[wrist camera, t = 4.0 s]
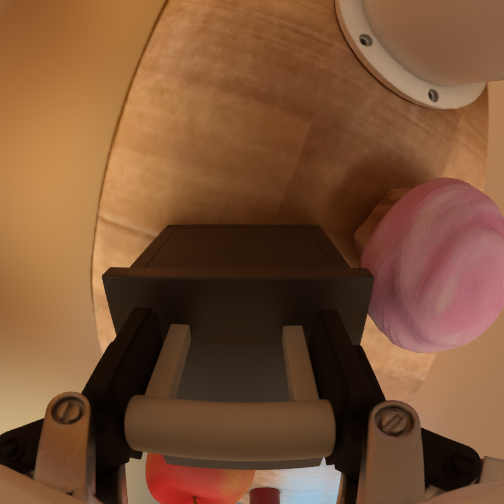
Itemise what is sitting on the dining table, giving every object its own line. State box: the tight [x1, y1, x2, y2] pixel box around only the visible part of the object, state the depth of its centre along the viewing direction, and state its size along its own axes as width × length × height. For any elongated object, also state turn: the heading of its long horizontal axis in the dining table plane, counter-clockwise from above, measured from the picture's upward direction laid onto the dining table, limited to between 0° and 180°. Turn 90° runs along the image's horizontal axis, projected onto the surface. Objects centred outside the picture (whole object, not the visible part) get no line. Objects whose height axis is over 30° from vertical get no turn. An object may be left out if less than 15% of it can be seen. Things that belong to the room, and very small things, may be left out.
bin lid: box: [102, 267, 374, 470], centre depth 10 cm, size 13×10×6 cm
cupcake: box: [353, 178, 504, 353], centre depth 14 cm, size 9×9×10 cm
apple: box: [146, 453, 255, 504], centre depth 21 cm, size 10×10×10 cm
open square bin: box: [130, 225, 350, 269], centre depth 17 cm, size 13×10×8 cm
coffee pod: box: [250, 488, 280, 504], centre depth 31 cm, size 4×4×4 cm
